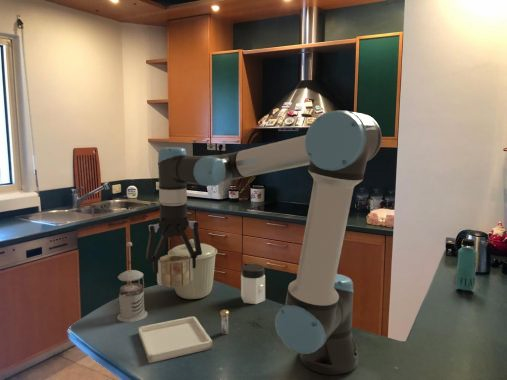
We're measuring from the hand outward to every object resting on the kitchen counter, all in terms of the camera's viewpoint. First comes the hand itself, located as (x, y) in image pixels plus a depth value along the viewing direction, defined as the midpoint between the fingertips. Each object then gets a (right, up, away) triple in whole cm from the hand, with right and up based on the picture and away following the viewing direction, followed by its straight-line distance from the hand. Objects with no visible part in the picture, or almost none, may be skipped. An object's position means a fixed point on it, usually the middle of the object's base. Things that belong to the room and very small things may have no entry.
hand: (175, 281), depth 116 cm
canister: (0, -13, +36) cm, 38 cm away
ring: (0, 0, 0) cm, 0 cm away
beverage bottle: (+103, -12, +38) cm, 110 cm away
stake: (+14, -17, +6) cm, 23 cm away
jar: (+22, -14, +31) cm, 40 cm away
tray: (-1, -18, +2) cm, 18 cm away
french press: (-17, -16, +19) cm, 30 cm away
